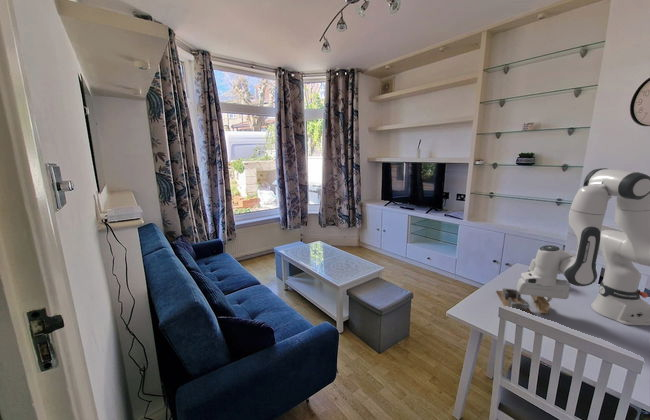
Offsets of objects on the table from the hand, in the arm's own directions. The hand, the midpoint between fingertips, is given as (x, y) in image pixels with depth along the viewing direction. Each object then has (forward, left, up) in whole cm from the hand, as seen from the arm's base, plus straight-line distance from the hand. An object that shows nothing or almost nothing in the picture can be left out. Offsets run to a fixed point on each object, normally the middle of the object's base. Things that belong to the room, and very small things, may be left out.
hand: (539, 303), depth 132 cm
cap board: (+11, -1, -3) cm, 11 cm away
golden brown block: (0, 0, -2) cm, 2 cm away
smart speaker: (-11, -32, -3) cm, 33 cm away
